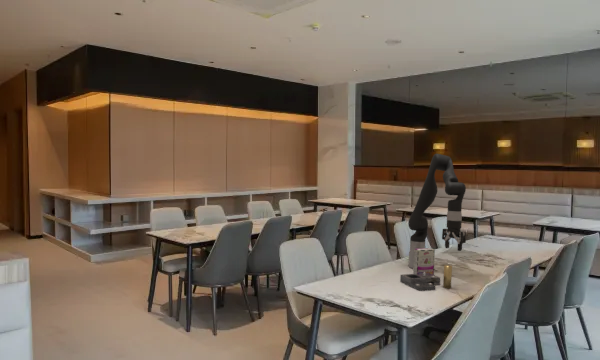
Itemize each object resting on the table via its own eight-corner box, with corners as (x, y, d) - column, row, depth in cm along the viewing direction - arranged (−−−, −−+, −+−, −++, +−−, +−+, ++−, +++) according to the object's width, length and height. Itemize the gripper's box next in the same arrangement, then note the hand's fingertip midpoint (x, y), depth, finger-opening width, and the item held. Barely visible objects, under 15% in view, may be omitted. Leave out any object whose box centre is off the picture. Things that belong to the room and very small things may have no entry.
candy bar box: (429, 275, 264) (430, 248, 264) (433, 277, 260) (435, 249, 259) (412, 275, 262) (413, 248, 261) (416, 278, 257) (418, 250, 256)
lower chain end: (400, 281, 247) (400, 277, 247) (415, 280, 251) (415, 276, 251) (419, 291, 230) (419, 286, 230) (435, 289, 234) (435, 284, 234)
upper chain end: (400, 281, 247) (400, 273, 247) (428, 279, 254) (429, 271, 253) (410, 286, 238) (410, 278, 238) (439, 284, 244) (440, 276, 244)
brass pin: (441, 286, 240) (442, 265, 239) (447, 286, 241) (448, 264, 241) (446, 289, 236) (447, 266, 236) (452, 288, 237) (453, 266, 237)
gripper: (469, 220, 234) (468, 251, 234) (449, 217, 246) (448, 246, 247) (459, 221, 230) (458, 252, 230) (439, 218, 243) (438, 247, 243)
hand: (453, 249), depth 239 cm, fingers open, 8 cm apart
